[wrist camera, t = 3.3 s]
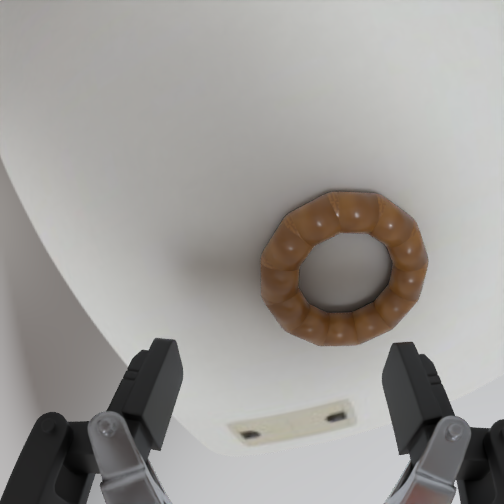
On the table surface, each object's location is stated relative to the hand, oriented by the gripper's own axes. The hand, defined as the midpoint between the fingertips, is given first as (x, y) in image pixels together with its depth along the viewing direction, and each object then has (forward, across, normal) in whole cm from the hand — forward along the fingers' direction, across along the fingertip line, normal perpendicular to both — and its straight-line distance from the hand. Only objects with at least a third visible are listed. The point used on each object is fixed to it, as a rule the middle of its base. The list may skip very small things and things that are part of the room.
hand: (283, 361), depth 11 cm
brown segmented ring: (+6, -3, 0) cm, 7 cm away
